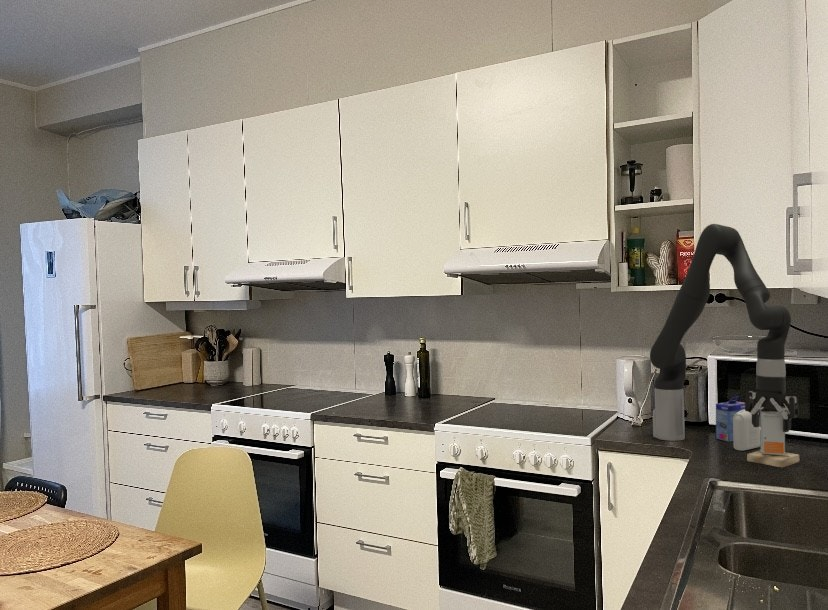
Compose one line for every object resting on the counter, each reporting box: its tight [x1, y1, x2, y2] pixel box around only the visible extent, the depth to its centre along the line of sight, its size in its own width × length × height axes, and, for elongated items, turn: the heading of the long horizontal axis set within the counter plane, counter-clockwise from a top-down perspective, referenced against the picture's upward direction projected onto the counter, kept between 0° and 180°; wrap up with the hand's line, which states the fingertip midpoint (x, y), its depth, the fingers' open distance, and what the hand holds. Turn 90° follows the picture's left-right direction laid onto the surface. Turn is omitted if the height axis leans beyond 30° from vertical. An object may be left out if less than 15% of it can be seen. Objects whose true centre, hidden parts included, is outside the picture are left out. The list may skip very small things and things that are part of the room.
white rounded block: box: [732, 409, 761, 452], centre depth 208 cm, size 10×4×12 cm, turn 123°
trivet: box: [746, 449, 800, 468], centre depth 192 cm, size 10×10×2 cm
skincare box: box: [759, 410, 786, 455], centre depth 192 cm, size 6×4×12 cm
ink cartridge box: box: [715, 395, 745, 443], centre depth 221 cm, size 10×6×14 cm, turn 119°
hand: (771, 429), depth 192 cm, fingers open, 8 cm apart
